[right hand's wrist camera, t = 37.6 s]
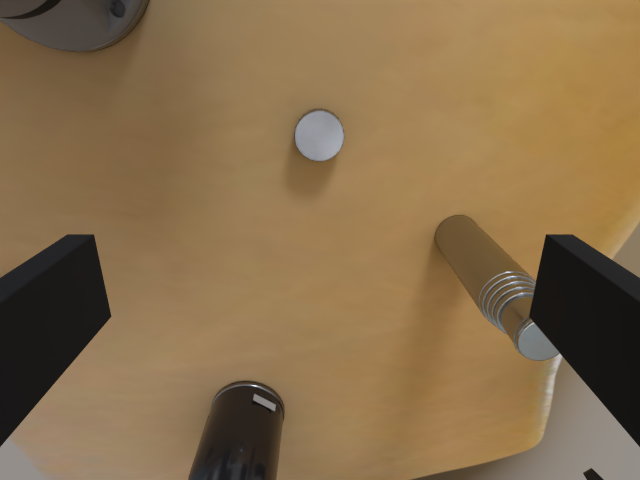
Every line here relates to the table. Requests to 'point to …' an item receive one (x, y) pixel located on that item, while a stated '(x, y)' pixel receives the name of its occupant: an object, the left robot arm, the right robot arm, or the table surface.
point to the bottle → (494, 283)
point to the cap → (319, 135)
